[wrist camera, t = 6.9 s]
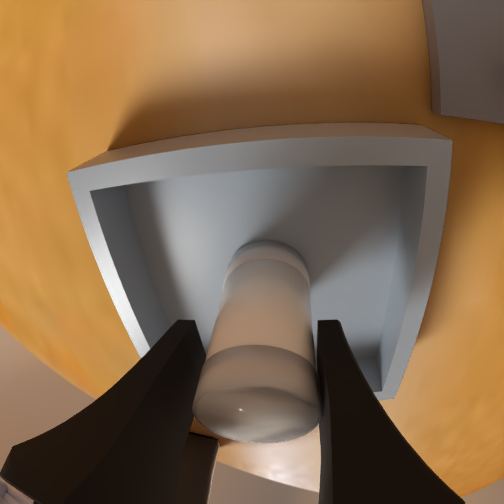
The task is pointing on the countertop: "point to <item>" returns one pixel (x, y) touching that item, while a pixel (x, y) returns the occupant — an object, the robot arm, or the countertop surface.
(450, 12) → the plate
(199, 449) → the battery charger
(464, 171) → the countertop surface
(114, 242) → the parts tray
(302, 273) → the cylinder
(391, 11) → the countertop surface
